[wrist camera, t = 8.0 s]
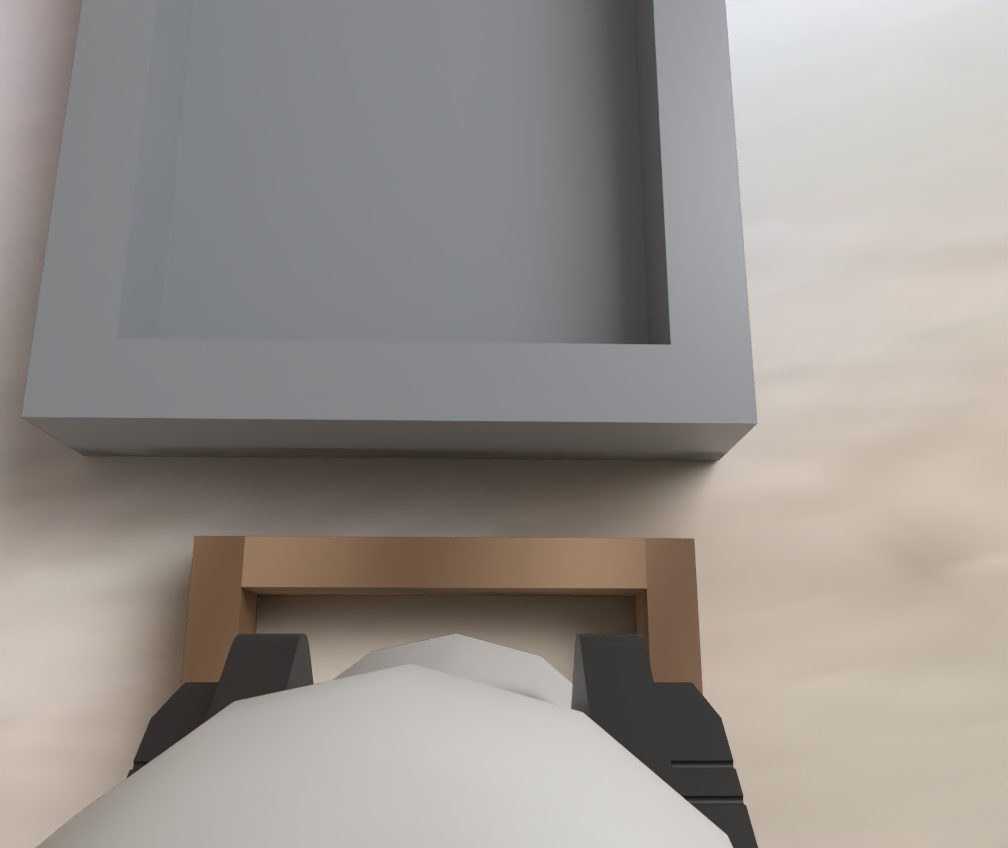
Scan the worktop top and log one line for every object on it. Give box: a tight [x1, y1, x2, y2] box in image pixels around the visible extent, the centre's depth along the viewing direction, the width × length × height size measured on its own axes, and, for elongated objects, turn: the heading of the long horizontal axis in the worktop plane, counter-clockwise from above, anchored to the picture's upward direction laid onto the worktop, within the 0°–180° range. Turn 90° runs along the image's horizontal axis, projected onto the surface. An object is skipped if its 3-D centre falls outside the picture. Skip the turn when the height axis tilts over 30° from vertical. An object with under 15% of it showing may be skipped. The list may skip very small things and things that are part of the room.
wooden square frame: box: [181, 536, 703, 695], centre depth 18 cm, size 10×10×2 cm
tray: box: [21, 0, 757, 460], centre depth 22 cm, size 14×18×3 cm
